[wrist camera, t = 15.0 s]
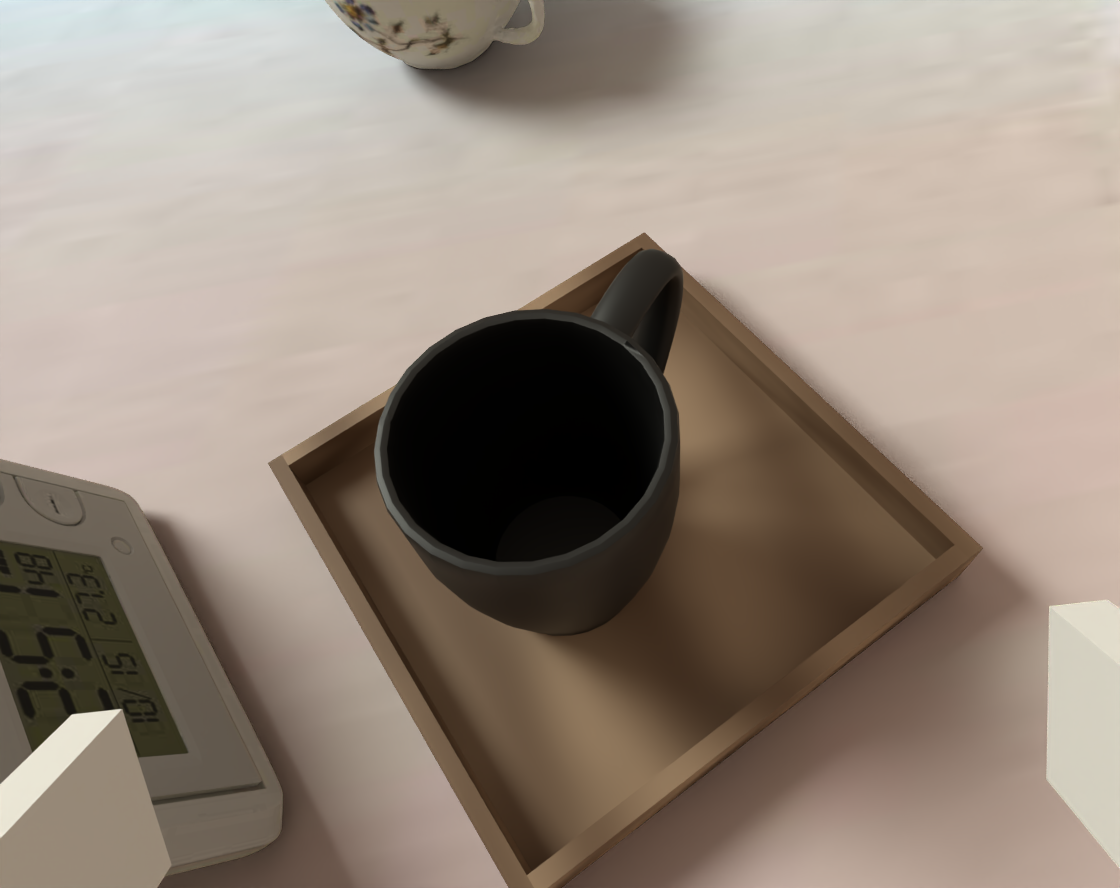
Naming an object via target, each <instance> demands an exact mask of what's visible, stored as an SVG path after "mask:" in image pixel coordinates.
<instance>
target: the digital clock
mask: <svg viewBox="0 0 1120 888" xmlns="http://www.w3.org/2000/svg"><path fill="white" fill-rule="evenodd" d="M117 709H122V710H123V713H124V716H125V719H126V723H127V726H128V729H129V732H130V735H131V738H132V741H133V745H134V748H135V751H136V754H137V757H138V760H139V764H140V767H141V770H142V773H143V776H144V779H145V782H146V786H147V789H148V792H149V795H150V798H151V801H152V805H153V808H154V811H155V814H156V817H157V820H158V823H159V827H160V830H161V833H162V836H163V839H164V842H165V846H166V849H167V852H168V855H169V858H170V861H171V864H172V865H171V867H170V868H169V870H168V871H167V873H166V875H165V876H169V875H173V874H177V873H182V872H186V871H190V870H194V869H198V868H202V867H206V866H210V865H214V864H218V863H222V862H227V861H231V860H235V859H238V858H242V857H245V856H248V855H250V854H253V853H255V852H257V851H259V850H261V849H263V848H265V847H266V846H268V845H269V844H270V843H272V842H273V841H274V840H275V839H276V838H278V836H279V834H280V832H281V829H282V813H283V792H282V789H281V786H280V783H279V781H278V779H277V776H276V774H275V772H274V770H273V768H272V766H271V764H270V762H269V760H268V758H267V756H266V753H265V751H264V749H263V747H262V745H261V743H260V741H259V739H258V737H257V735H256V733H255V731H254V729H253V727H252V725H251V723H250V721H249V719H248V717H247V715H246V713H245V711H244V709H243V707H242V705H241V704H240V702H239V700H238V698H237V696H236V694H235V692H234V690H233V688H232V686H231V684H230V682H229V680H228V678H227V676H226V674H225V672H224V670H223V668H222V666H221V664H220V662H219V660H218V658H217V656H216V654H215V652H214V650H213V648H212V646H211V644H210V642H209V640H208V638H207V636H206V634H205V632H204V630H203V628H202V626H201V624H200V622H199V621H198V619H197V617H196V615H195V613H194V611H193V609H192V607H191V605H190V603H189V601H188V599H187V597H186V595H185V593H184V591H183V589H182V587H181V585H180V583H179V581H178V579H177V577H176V575H175V573H174V571H173V569H172V567H171V565H170V563H169V561H168V559H167V557H166V555H165V553H164V551H163V549H162V547H161V545H160V544H159V542H158V540H157V538H156V536H155V534H154V532H153V530H152V528H151V526H150V524H149V522H148V521H147V519H146V517H145V515H144V513H143V511H142V510H141V508H140V506H139V505H138V503H137V502H136V501H135V500H134V499H133V498H132V497H131V496H130V495H128V494H127V493H125V492H123V491H121V490H118V489H115V488H113V487H109V486H105V485H102V484H98V483H94V482H90V481H86V480H82V479H78V478H74V477H70V476H66V475H62V474H58V473H54V472H50V471H46V470H42V469H38V468H34V467H30V466H26V465H22V464H18V463H14V462H10V461H6V460H2V459H0V784H1V783H2V782H3V781H4V780H5V779H6V778H7V777H8V776H9V775H10V774H11V773H12V772H13V771H14V770H15V769H17V768H18V767H19V766H20V765H21V764H22V763H23V762H24V761H25V760H26V759H27V758H28V757H29V756H30V755H31V754H32V753H33V752H34V751H35V750H36V749H37V748H38V747H39V746H40V745H41V744H42V743H43V742H44V741H45V740H46V739H47V738H48V737H49V736H50V735H52V734H53V733H54V732H55V731H56V730H57V729H58V728H59V727H60V726H61V725H62V724H63V723H64V722H65V721H66V720H67V719H68V718H69V717H70V716H71V715H72V714H81V713H90V712H99V711H108V710H117ZM165 876H164V877H165Z"/></svg>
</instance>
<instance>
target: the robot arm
mask: <svg viewBox="0 0 1120 888" xmlns="http://www.w3.org/2000/svg"><path fill="white" fill-rule="evenodd" d="M1046 780H1047V781H1048V782H1049V783H1050V784H1051V786H1052V787H1053V788H1054V789H1055V790H1056V792H1057V793H1058V794H1059V795H1060V797H1061V798H1062V799H1063V800H1064V801H1065V803H1066V804H1067V805H1068V806H1069V808H1070V809H1071V810H1072V811H1073V812H1074V814H1075V815H1076V816H1077V817H1078V819H1079V820H1080V821H1081V822H1082V823H1083V825H1084V826H1085V827H1086V828H1087V830H1088V831H1089V832H1090V833H1091V834H1092V836H1093V837H1094V838H1095V839H1096V840H1097V842H1098V843H1099V844H1100V845H1101V847H1102V848H1103V849H1104V850H1105V851H1106V853H1107V854H1108V855H1109V856H1110V858H1111V859H1112V860H1113V861H1114V862H1115V864H1116V865H1117V866H1118V867H1119V869H1120V608H1118V607H1117V606H1116V605H1114V604H1113V603H1112V602H1110V601H1109V600H1100V601H1091V602H1082V603H1073V604H1064V605H1055V606H1049V649H1048V712H1047V775H1046ZM171 865H172V864H171V861H170V858H169V855H168V852H167V849H166V846H165V842H164V839H163V836H162V833H161V830H160V827H159V823H158V820H157V817H156V814H155V811H154V808H153V805H152V801H151V798H150V795H149V792H148V789H147V786H146V782H145V779H144V776H143V773H142V770H141V767H140V764H139V760H138V757H137V754H136V751H135V748H134V745H133V741H132V738H131V735H130V732H129V729H128V726H127V723H126V719H125V716H124V713H123V710H122V709H117V710H108V711H99V712H90V713H81V714H72V715H71V716H70V717H69V718H68V719H67V720H66V721H65V722H64V723H63V724H62V725H61V726H60V727H59V728H58V729H57V730H56V731H55V732H54V733H53V734H52V735H50V736H49V737H48V738H47V739H46V740H45V741H44V742H43V743H42V744H41V745H40V746H39V747H38V748H37V749H36V750H35V751H34V752H33V753H32V754H31V755H30V756H29V757H28V758H27V759H26V760H25V761H24V762H23V763H22V764H21V765H20V766H19V767H18V768H17V769H15V770H14V771H13V772H12V773H11V774H10V775H9V776H8V777H7V778H6V779H5V780H4V781H3V782H2V783H1V784H0V888H157V887H158V886H159V884H160V882H161V881H162V879H163V878H164V876H165V875H166V873H167V871H168V870H169V868H170V867H171Z"/></svg>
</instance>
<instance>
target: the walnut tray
mask: <svg viewBox="0 0 1120 888" xmlns="http://www.w3.org/2000/svg"><path fill="white" fill-rule="evenodd" d="M648 249H656V250H660V251H664V250H663V249H662V248H661V247H659V246H658V245H657V244H656V243H655V242H654V241H653V240H652V239H651V238H650V237H649V236H648V235H647V234H646V233H643V234H641V235H639V236H638V237H636V238H634V239H633V240H631V241H630V242H628V243H626V244H625V245H623V246H621V247H620V248H618V249H617V250H615V251H613V252H612V253H610V254H608V255H607V256H605V257H603V258H602V259H600V260H599V261H597V262H595V263H594V264H592V265H590V266H589V267H587V268H586V269H584V270H582V271H581V272H579V273H577V274H576V275H574V276H572V277H571V278H569V279H568V280H566V281H564V282H563V283H561V284H559V285H558V286H556V287H555V288H553V289H551V290H550V291H548V292H546V293H545V294H543V295H541V296H540V297H538V298H537V299H535V300H533V301H532V302H530V303H528V304H527V305H525V306H524V307H522V308H520V309H519V310H535V309H551V310H559V311H567V312H574V313H579V314H582V315H585V316H588V317H591V315H592V314H593V312H594V310H595V308H596V307H597V305H598V303H599V302H600V300H601V299H602V297H603V295H604V294H605V292H606V291H607V289H608V288H609V286H610V285H611V283H612V282H613V280H614V279H615V278H616V276H617V275H618V274H619V272H620V271H621V270H622V269H623V267H624V266H625V265H626V264H627V263H628V262H629V261H630V260H631V259H632V258H633V257H634V256H635V255H636V254H637V253H638V252H640V251H643V250H648ZM664 252H665V251H664ZM682 270H683V297H682V304H681V309H680V314H679V319H678V323H677V327H676V331H675V335H674V339H673V342H672V346H671V350H670V353H669V357H668V360H667V364H666V367H665V371H664V374H663V375H664V376H665V378H666V380H667V381H668V383H669V384H670V387H671V390H672V393H673V396H674V399H675V402H676V406H677V409H678V412H679V425H680V488H679V498H678V503H677V507H676V512H675V517H674V522H673V526H672V529H671V533H670V536H669V539H668V541H667V543H666V546H665V548H664V550H663V552H662V554H661V556H660V558H659V560H658V562H657V564H656V567H655V569H654V571H653V573H652V574H651V576H650V577H649V579H648V580H647V582H646V583H645V584H644V585H643V587H642V588H641V589H640V590H639V591H638V593H637V594H636V595H635V596H634V598H633V599H632V600H631V601H630V602H629V603H628V604H627V605H626V606H625V607H624V608H623V609H622V610H621V611H620V613H618V614H617V615H616V616H615V617H613V618H612V619H611V620H609V621H608V622H607V623H606V624H604V625H602V626H600V627H597V628H595V629H593V630H591V631H589V632H585V633H581V634H576V635H572V636H552V635H548V634H542V633H536V632H532V631H527V630H523V629H519V628H514V627H511V626H508V625H506V624H503V623H501V622H499V621H497V620H495V619H493V618H491V617H489V616H487V615H485V614H483V613H481V612H479V611H477V610H476V609H474V608H472V607H470V606H469V605H468V604H467V603H465V602H464V601H463V600H462V599H460V598H459V597H458V596H457V595H456V594H454V593H453V592H452V591H451V590H450V589H448V588H447V587H446V586H445V585H444V584H442V583H441V582H440V581H439V580H438V579H436V578H435V576H434V575H433V574H432V572H431V571H430V570H429V569H428V567H427V566H426V565H425V563H424V562H423V561H422V559H421V558H420V556H419V555H418V554H417V552H416V551H415V549H414V548H413V547H412V545H411V544H410V543H409V541H408V540H407V538H406V537H405V536H404V534H403V533H402V531H401V530H400V529H399V527H398V526H397V524H396V523H395V522H394V520H393V519H392V517H391V516H390V515H389V513H388V512H387V509H386V507H385V504H384V501H383V499H382V496H381V493H380V491H379V488H378V485H377V480H376V469H375V458H374V448H375V442H376V436H377V429H378V424H379V420H380V417H381V415H382V412H383V410H384V407H385V405H386V403H387V400H388V398H389V395H390V393H391V392H392V390H393V389H394V387H395V386H396V385H397V384H396V385H395V386H393V387H391V388H390V389H388V390H387V391H385V392H383V393H382V394H380V395H378V396H377V397H375V398H373V399H372V400H370V401H369V402H367V403H365V404H364V405H362V406H360V407H359V408H357V409H356V410H354V411H352V412H351V413H349V414H347V415H346V416H344V417H342V418H341V419H339V420H338V421H336V422H334V423H333V424H331V425H329V426H328V427H326V428H325V429H323V430H321V431H320V432H318V433H316V434H315V435H313V436H311V437H310V438H308V439H307V440H305V441H303V442H302V443H300V444H298V445H297V446H295V447H294V448H292V449H290V450H289V451H287V452H285V453H284V454H282V455H280V456H279V457H277V458H276V459H274V460H272V461H271V462H269V463H268V464H269V466H270V468H271V469H272V471H273V473H274V475H275V476H276V478H277V480H278V482H279V483H280V485H281V487H282V489H283V491H284V492H285V494H286V496H287V498H288V499H289V501H290V503H291V505H292V506H293V508H294V510H295V512H296V513H297V515H298V517H299V519H300V520H301V522H302V524H303V526H304V528H305V529H306V531H307V533H308V535H309V536H310V538H311V540H312V542H313V543H314V545H315V547H316V549H317V550H318V552H319V554H320V556H321V558H322V559H323V561H324V563H325V565H326V566H327V568H328V570H329V572H330V573H331V575H332V577H333V579H334V580H335V582H336V584H337V586H338V588H339V589H340V591H341V593H342V595H343V596H344V598H345V600H346V602H347V603H348V605H349V607H350V609H351V610H352V612H353V614H354V616H355V618H356V619H357V621H358V623H359V625H360V626H361V628H362V630H363V632H364V633H365V635H366V637H367V639H368V640H369V642H370V644H371V646H372V647H373V649H374V651H375V653H376V655H377V656H378V658H379V660H380V662H381V663H382V665H383V667H384V669H385V670H386V672H387V674H388V676H389V677H390V679H391V681H392V683H393V685H394V686H395V688H396V690H397V692H398V693H399V695H400V697H401V699H402V700H403V702H404V704H405V706H406V707H407V709H408V711H409V713H410V715H411V716H412V718H413V720H414V722H415V723H416V725H417V727H418V729H419V730H420V732H421V734H422V736H423V737H424V739H425V741H426V743H427V745H428V746H429V748H430V750H431V752H432V753H433V755H434V757H435V759H436V760H437V762H438V764H439V766H440V767H441V769H442V771H443V773H444V774H445V776H446V778H447V780H448V782H449V783H450V785H451V787H452V789H453V790H454V792H455V794H456V796H457V797H458V799H459V801H460V803H461V804H462V806H463V808H464V810H465V812H466V813H467V815H468V817H469V819H470V820H471V822H472V824H473V826H474V827H475V829H476V831H477V833H478V834H479V836H480V838H481V840H482V842H483V843H484V845H485V847H486V849H487V850H488V852H489V854H490V856H491V857H492V859H493V861H494V863H495V864H496V866H497V868H498V870H499V871H500V873H501V875H502V877H503V879H504V880H505V882H506V884H507V886H508V887H509V888H561V887H563V886H564V885H565V884H566V883H568V882H569V881H570V880H571V879H573V878H574V877H575V876H577V875H578V874H579V873H580V872H582V871H583V870H584V869H586V868H587V867H588V866H589V865H591V864H592V863H593V862H594V861H596V860H597V859H598V858H600V857H601V856H602V855H603V854H605V853H606V852H607V851H608V850H610V849H611V848H612V847H614V846H615V845H616V844H617V843H619V842H620V841H621V840H623V839H624V838H625V837H626V836H628V835H629V834H630V833H631V832H633V831H634V830H635V829H637V828H638V827H639V826H640V825H642V824H643V823H644V822H646V821H647V820H648V819H649V818H651V817H652V816H653V815H654V814H656V813H657V812H658V811H660V810H661V809H662V808H663V807H665V806H666V805H667V804H668V803H670V802H671V801H672V800H674V799H675V798H676V797H677V796H679V795H680V794H681V793H683V792H684V791H685V790H686V789H688V788H689V787H690V786H691V785H693V784H694V783H695V782H697V781H698V780H699V779H700V778H702V777H703V776H704V775H706V774H707V773H708V772H709V771H711V770H712V769H713V768H714V767H716V766H717V765H718V764H720V763H721V762H722V761H723V760H725V759H726V758H727V757H728V756H730V755H731V754H732V753H734V752H735V751H736V750H737V749H739V748H740V747H741V746H743V745H744V744H745V743H746V742H748V741H749V740H750V739H751V738H753V737H754V736H755V735H757V734H758V733H759V732H760V731H762V730H763V729H764V728H766V727H767V726H768V725H769V724H771V723H772V722H773V721H774V720H776V719H777V718H778V717H780V716H781V715H782V714H783V713H785V712H786V711H787V710H788V709H790V708H791V707H792V706H794V705H795V704H796V703H797V702H799V701H800V700H801V699H803V698H804V697H805V696H806V695H808V694H809V693H810V692H811V691H813V690H814V689H815V688H817V687H818V686H819V685H820V684H822V683H823V682H824V681H825V680H827V679H828V678H829V677H831V676H832V675H833V674H834V673H836V672H837V671H838V670H840V669H841V668H842V667H843V666H845V665H846V664H847V663H848V662H850V661H851V660H852V659H854V658H855V657H856V656H857V655H859V654H860V653H861V652H863V651H864V650H865V649H866V648H868V647H869V646H870V645H871V644H873V643H874V642H875V641H877V640H878V639H879V638H880V637H882V636H883V635H884V634H885V633H887V632H888V631H889V630H891V629H892V628H893V627H894V626H896V625H897V624H898V623H900V622H901V621H902V620H903V619H905V618H906V617H907V616H908V615H910V614H911V613H912V612H914V611H915V610H916V609H917V608H919V607H920V606H921V605H923V604H924V603H925V602H926V601H928V600H929V599H930V598H931V597H933V596H934V595H935V594H937V593H938V592H939V591H940V590H942V589H943V588H944V587H945V586H947V585H948V584H949V583H951V582H952V581H953V580H954V579H956V578H957V577H958V576H960V574H961V573H962V572H963V571H964V570H965V569H966V567H967V566H968V565H969V564H970V563H971V562H972V560H973V559H974V558H975V557H976V556H977V554H978V553H979V552H980V551H981V550H982V549H983V548H982V547H981V546H980V545H979V544H978V543H977V542H976V541H975V540H974V539H973V538H972V537H970V536H969V535H968V534H967V533H966V532H965V531H964V530H963V529H962V528H961V527H960V526H959V525H958V524H957V523H955V522H954V521H953V520H952V519H951V518H950V517H949V516H948V515H947V514H946V513H945V512H944V511H943V510H942V509H940V508H939V507H938V506H937V505H936V504H935V503H934V502H933V501H932V500H931V499H930V498H929V497H928V496H927V495H925V494H924V493H923V492H922V491H921V490H920V489H919V488H918V487H917V486H916V485H915V484H914V483H913V482H911V481H910V480H909V479H908V478H907V477H906V476H905V475H904V474H903V473H902V472H901V471H900V470H899V469H898V468H896V467H895V466H894V465H893V464H892V463H891V462H890V461H889V460H888V459H887V458H886V457H885V456H884V455H883V454H881V453H880V452H879V451H878V450H877V449H876V448H875V447H874V446H873V445H872V444H871V443H870V442H869V441H868V440H866V439H865V438H864V437H863V436H862V435H861V434H860V433H859V432H858V431H857V430H856V429H855V428H854V427H853V426H851V425H850V424H849V423H848V422H847V421H846V420H845V419H844V418H843V417H842V416H841V415H840V414H839V413H838V412H836V411H835V410H834V409H833V408H832V407H831V406H830V405H829V404H828V403H827V402H826V401H825V400H824V399H822V398H821V397H820V396H819V395H818V394H817V393H816V392H815V391H814V390H813V389H812V388H811V387H810V386H809V385H807V384H806V383H805V382H804V381H803V380H802V379H801V378H800V377H799V376H798V375H797V374H796V373H795V372H794V371H792V370H791V369H790V368H789V367H788V366H787V365H786V364H785V363H784V362H783V361H782V360H781V359H780V358H779V357H777V356H776V355H775V354H774V353H773V352H772V351H771V350H770V349H769V348H768V347H767V346H766V345H765V344H764V343H762V342H761V341H760V340H759V339H758V338H757V337H756V336H755V335H754V334H753V333H752V332H751V331H750V330H749V329H747V328H746V327H745V326H744V325H743V324H742V323H741V322H740V321H739V320H738V319H737V318H736V317H735V316H733V315H732V314H731V313H730V312H729V311H728V310H727V309H726V308H725V307H724V306H723V305H722V304H721V303H720V302H718V301H717V300H716V299H715V298H714V297H713V296H712V295H711V294H710V293H709V292H708V291H707V290H706V289H705V288H703V287H702V286H701V285H700V284H699V283H698V282H697V281H696V280H695V279H694V278H693V277H692V276H691V275H690V274H688V273H687V272H686V271H685V270H684V269H683V268H682Z"/></svg>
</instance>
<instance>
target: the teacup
mask: <svg viewBox="0 0 1120 888" xmlns="http://www.w3.org/2000/svg"><path fill="white" fill-rule="evenodd" d="M325 1H326V2H327V4H328V5H329V6H330V8H331V9H332V10H333V11H334V12H335V13H336V14H337V16H338V17H339V18H340V19H341V20H342V21H343V22H344V23H345V24H346V25H347V26H348V27H349V28H350V29H351V30H352V31H354V32H355V33H356V34H357V35H358V36H359V37H360V38H362V39H363V40H365V41H366V42H368V43H369V44H371V45H372V46H374V47H375V48H377V49H378V50H380V51H382V52H384V53H386V54H388V55H390V56H392V57H395V58H397V59H400V60H403V61H404V62H405V63H406V64H408V65H410V66H413V67H415V68H419V69H421V68H423V69H451V68H456V67H459V66H461V65H464V64H467V63H469V62H471V61H473V60H475V59H476V58H477V57H478V56H480V55H481V54H482V53H483V52H484V51H486V49H487V48H488V47H489V46H490V45H491V43H492V41H494V40H498V41H500V42H502V43H512V44H513V45H524V44H529V43H531V42H533V41H534V40H535V39H537V38H538V37H539V36H540V34H541V32H542V29H543V27H544V19H545V12H544V2H543V0H528V1H529V4H530V7H531V11H532V21H531V22H530V23H529V25H527V26H524V27H520V28H508V29H506V28H504V27H505V26H506V25H507V23H508V22H509V20H510V19H511V17H512V15H513V14H514V12H515V10H516V8H517V6H518V4H519V2H520V0H325Z"/></svg>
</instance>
